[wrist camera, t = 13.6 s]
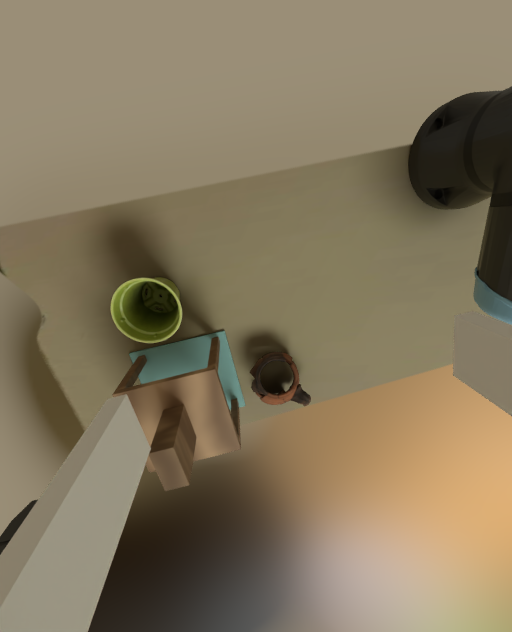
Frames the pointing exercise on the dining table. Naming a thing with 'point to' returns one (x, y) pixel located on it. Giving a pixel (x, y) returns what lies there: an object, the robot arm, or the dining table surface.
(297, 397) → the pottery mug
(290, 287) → the dining table surface
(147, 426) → the brown piece
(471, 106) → the robot arm
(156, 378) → the teal mat
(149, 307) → the plant pot
